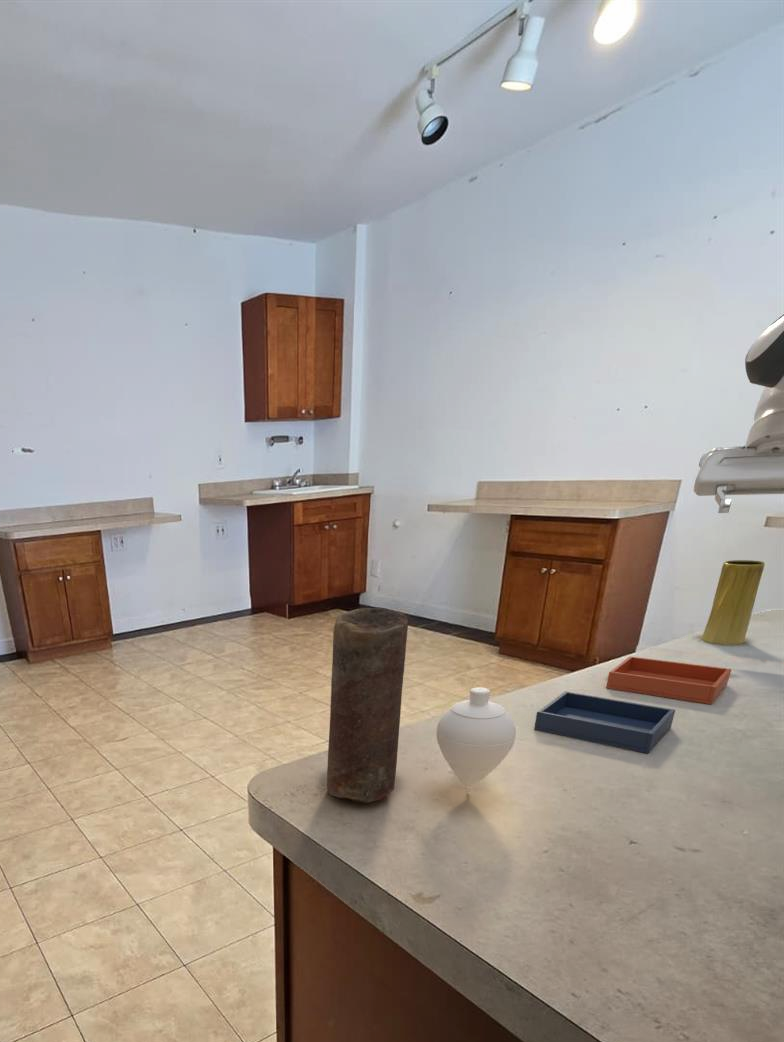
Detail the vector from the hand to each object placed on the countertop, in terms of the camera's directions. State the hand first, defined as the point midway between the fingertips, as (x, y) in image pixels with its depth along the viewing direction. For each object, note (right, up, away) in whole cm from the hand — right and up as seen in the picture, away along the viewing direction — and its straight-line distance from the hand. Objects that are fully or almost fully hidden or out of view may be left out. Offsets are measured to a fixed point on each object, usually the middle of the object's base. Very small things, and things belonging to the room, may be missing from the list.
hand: (758, 510), depth 109 cm
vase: (-6, -24, 0) cm, 25 cm away
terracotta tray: (-26, -32, -14) cm, 44 cm away
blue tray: (-43, -39, -26) cm, 64 cm away
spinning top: (-66, -47, -39) cm, 90 cm away
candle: (-77, -47, -38) cm, 98 cm away
